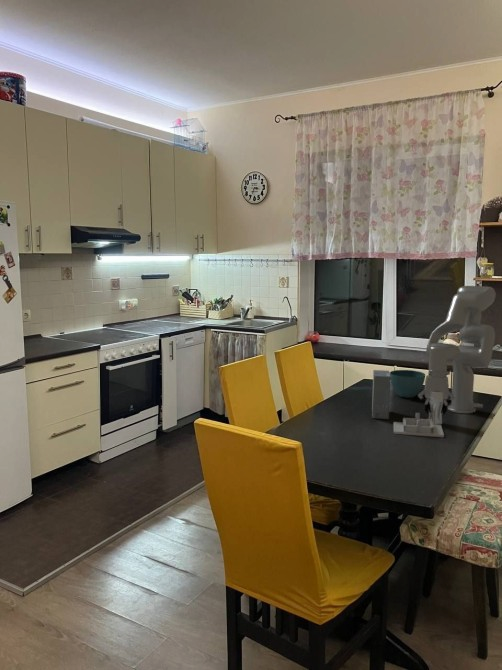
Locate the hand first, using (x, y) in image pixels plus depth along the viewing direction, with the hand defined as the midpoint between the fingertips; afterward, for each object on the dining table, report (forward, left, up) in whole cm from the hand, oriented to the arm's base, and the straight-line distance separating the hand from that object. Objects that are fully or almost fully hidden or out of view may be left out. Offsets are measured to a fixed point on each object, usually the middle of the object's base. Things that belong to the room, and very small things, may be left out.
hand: (435, 412), depth 247 cm
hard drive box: (+24, -8, -5) cm, 26 cm away
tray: (+8, +13, -5) cm, 16 cm away
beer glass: (0, 0, -5) cm, 5 cm away
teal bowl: (+11, -48, -5) cm, 49 cm away
